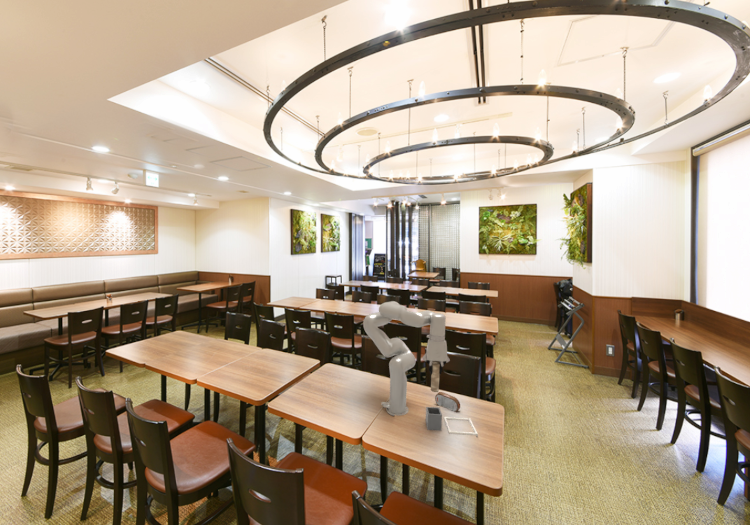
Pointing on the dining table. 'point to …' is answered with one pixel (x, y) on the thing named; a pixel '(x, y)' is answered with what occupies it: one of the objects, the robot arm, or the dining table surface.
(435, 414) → the holder
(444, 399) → the tin
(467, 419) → the white square frame
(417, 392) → the dining table surface
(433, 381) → the dowel
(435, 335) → the robot arm
